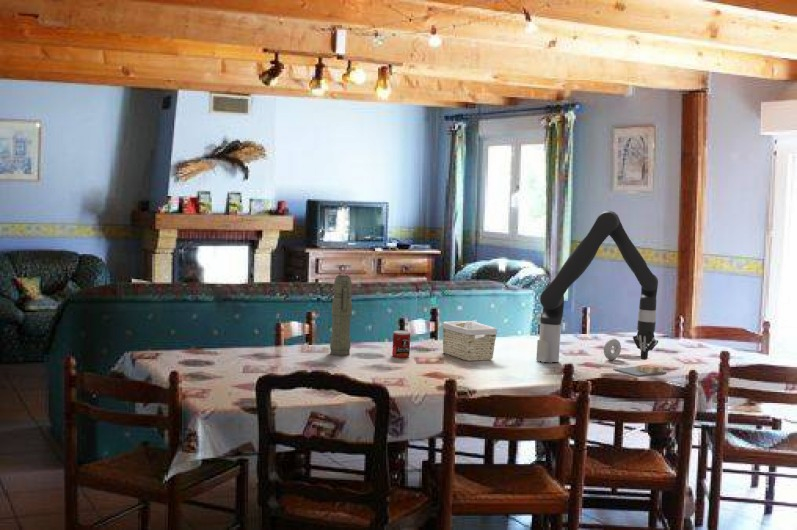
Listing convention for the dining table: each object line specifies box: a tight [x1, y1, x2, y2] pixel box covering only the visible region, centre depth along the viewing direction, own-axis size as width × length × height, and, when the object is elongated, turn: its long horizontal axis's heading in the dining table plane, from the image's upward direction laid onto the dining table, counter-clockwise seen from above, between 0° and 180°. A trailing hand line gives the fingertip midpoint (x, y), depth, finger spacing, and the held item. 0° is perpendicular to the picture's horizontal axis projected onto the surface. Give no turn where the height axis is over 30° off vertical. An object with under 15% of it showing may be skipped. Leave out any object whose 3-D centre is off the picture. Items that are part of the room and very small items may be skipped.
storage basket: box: [441, 320, 498, 362], centre depth 447 cm, size 24×16×15 cm
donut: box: [603, 338, 622, 361], centre depth 456 cm, size 10×4×10 cm, turn 125°
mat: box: [612, 366, 667, 377], centre depth 430 cm, size 18×14×1 cm
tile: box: [635, 363, 664, 374], centre depth 430 cm, size 9×2×7 cm
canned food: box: [391, 330, 411, 359], centre depth 439 cm, size 8×8×11 cm
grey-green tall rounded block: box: [329, 274, 353, 357], centre depth 437 cm, size 9×12×35 cm
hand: (643, 359), depth 430 cm, fingers closed
